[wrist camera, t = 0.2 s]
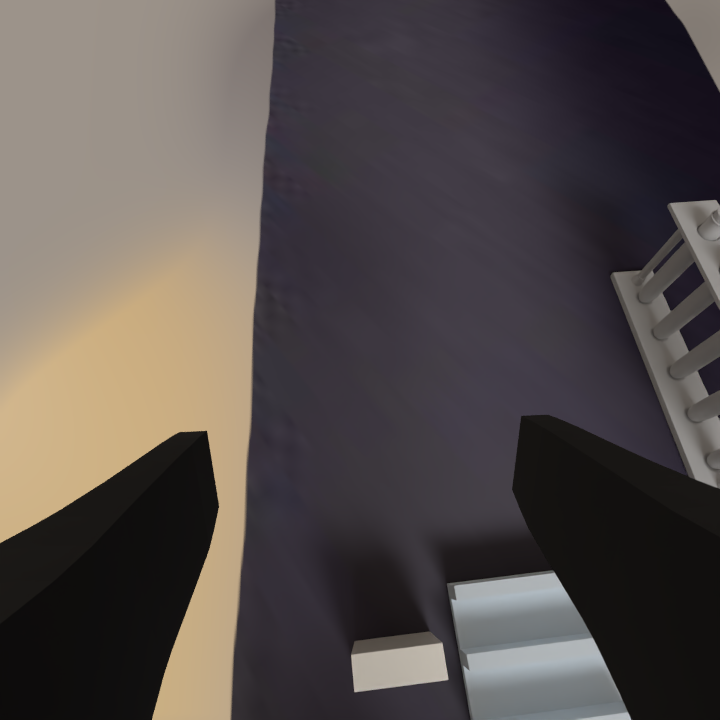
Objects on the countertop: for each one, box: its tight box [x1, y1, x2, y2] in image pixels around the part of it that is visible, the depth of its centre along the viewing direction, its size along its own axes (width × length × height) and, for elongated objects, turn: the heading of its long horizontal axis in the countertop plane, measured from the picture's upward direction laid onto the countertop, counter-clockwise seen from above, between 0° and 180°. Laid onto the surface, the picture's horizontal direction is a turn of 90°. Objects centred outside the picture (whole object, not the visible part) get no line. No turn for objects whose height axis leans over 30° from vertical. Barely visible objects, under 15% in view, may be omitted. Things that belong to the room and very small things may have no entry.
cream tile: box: [351, 631, 448, 692], centre depth 32 cm, size 2×6×7 cm, turn 96°
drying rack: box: [447, 570, 631, 720], centre depth 32 cm, size 14×11×4 cm
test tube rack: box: [610, 200, 720, 489], centre depth 39 cm, size 25×4×13 cm, turn 4°
